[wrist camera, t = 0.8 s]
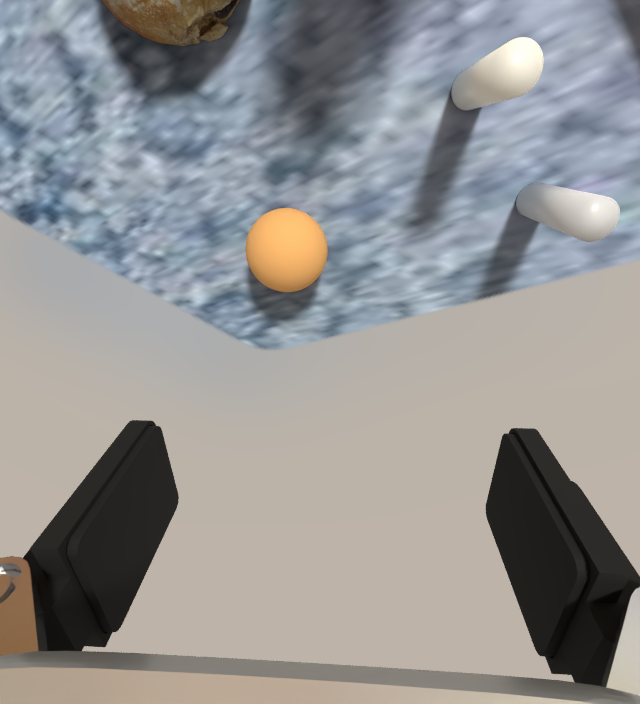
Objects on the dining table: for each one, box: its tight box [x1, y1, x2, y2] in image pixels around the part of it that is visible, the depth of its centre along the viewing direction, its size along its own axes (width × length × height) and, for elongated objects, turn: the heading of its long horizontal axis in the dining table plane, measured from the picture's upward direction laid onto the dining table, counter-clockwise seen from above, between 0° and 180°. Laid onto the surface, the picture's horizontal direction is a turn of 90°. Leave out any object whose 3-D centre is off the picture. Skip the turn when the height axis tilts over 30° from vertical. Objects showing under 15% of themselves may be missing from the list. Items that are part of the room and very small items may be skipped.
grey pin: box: [516, 182, 620, 242], centre depth 26 cm, size 2×2×9 cm
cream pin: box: [451, 37, 543, 110], centre depth 23 cm, size 2×2×9 cm
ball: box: [246, 208, 327, 292], centre depth 30 cm, size 6×6×6 cm
